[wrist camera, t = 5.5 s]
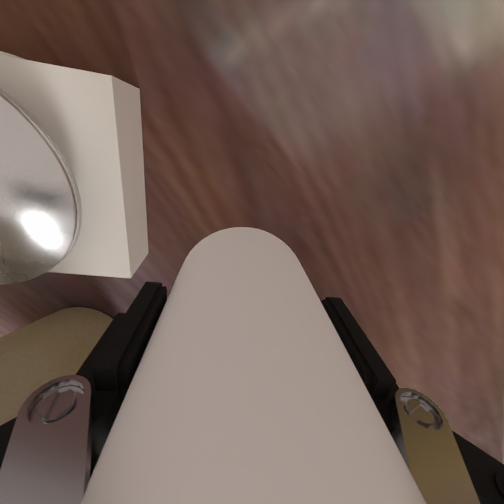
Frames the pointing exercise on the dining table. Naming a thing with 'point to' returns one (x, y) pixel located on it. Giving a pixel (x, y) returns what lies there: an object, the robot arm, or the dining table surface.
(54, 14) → the dining table surface
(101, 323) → the plant pot
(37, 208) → the scale pan
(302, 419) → the can
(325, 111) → the dining table surface
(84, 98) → the scale housing
